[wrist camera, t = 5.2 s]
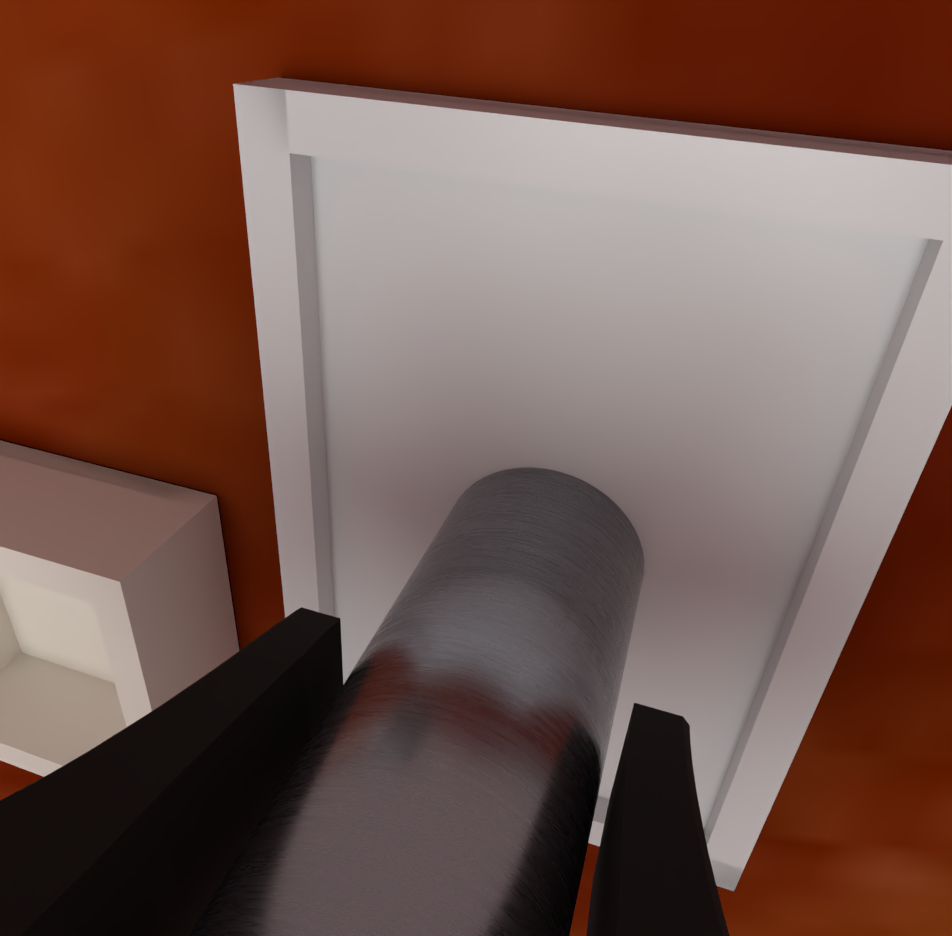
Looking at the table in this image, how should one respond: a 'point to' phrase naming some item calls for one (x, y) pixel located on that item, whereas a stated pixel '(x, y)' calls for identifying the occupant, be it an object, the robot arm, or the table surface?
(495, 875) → the steel pin
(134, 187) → the table surface
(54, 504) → the square socket block
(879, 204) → the tray
